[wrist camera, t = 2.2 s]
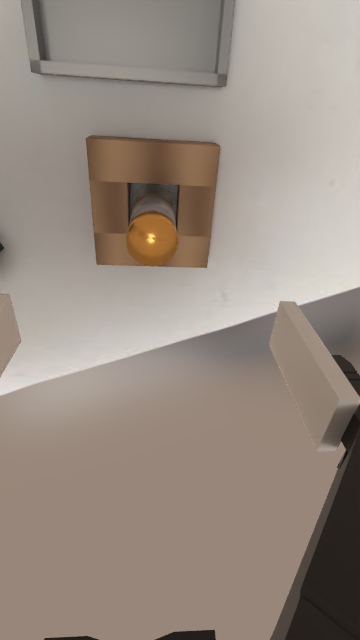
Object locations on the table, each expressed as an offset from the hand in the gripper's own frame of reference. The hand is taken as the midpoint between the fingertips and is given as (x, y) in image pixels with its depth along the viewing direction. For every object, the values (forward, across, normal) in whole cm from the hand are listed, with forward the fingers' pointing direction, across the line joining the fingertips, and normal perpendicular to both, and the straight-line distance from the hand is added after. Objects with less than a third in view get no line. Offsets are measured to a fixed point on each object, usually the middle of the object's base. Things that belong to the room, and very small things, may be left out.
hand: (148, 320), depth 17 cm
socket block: (+23, 0, 0) cm, 23 cm away
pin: (+23, 0, 0) cm, 23 cm away
